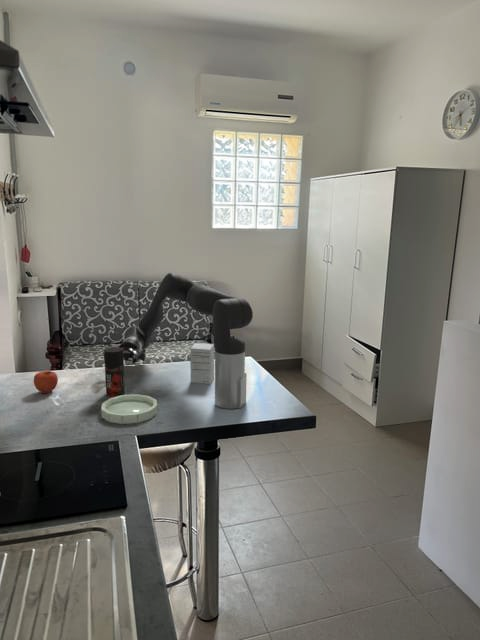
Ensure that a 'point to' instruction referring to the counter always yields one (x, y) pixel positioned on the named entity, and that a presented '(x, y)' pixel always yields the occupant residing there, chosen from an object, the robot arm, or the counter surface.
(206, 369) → the supplement box
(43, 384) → the apple
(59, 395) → the counter surface
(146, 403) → the round tray
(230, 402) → the robot arm
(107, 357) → the deodorant
